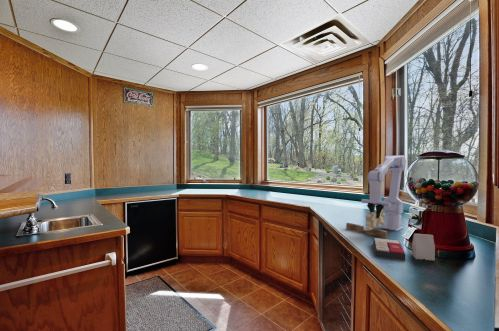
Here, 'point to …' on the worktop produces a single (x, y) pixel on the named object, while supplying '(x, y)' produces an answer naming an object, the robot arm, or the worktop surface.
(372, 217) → the cross piece
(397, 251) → the calculator
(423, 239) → the tea bag
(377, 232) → the walnut stand
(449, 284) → the worktop surface
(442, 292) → the worktop surface
